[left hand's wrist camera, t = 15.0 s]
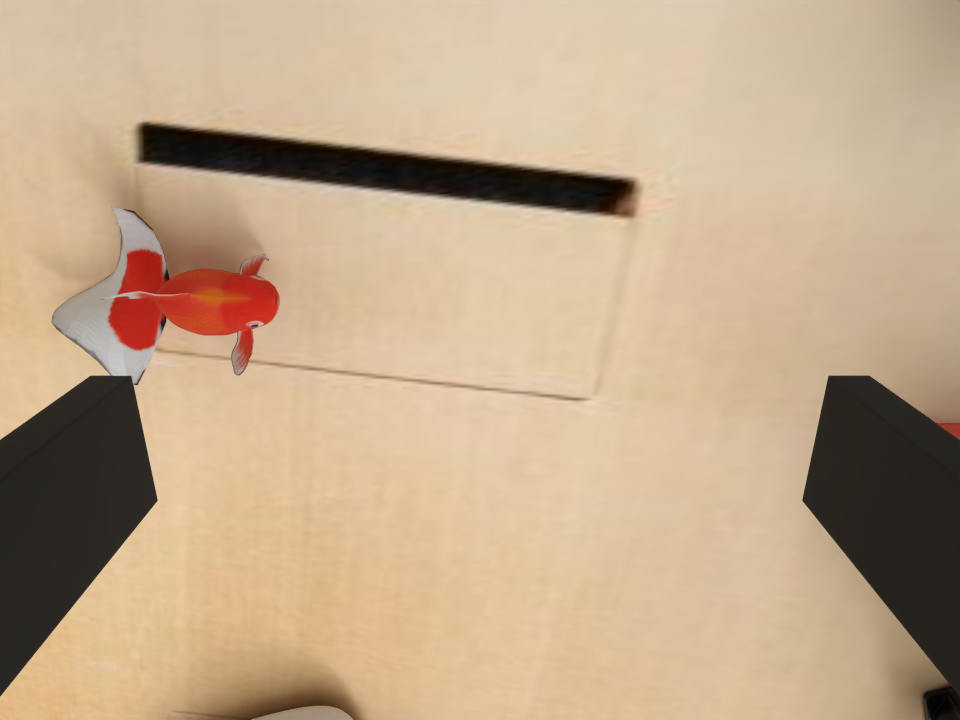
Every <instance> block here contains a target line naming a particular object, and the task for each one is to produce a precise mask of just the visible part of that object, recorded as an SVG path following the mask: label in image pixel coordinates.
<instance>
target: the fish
mask: <svg viewBox="0 0 960 720" xmlns="http://www.w3.org/2000/svg"><path fill="white" fill-rule="evenodd" d="M111 208H112V209H113V211H114V213H115V215H116V217H117V220H118V223H119V225H120V231H121V253H120V258H119V261H118V264H117V268H116V270H115V272H114V273H113V274H111V275H110V276H108V277H107V278H105V279H104V280H102V281H101V282H100V283H98V284H97V285H95V286H94V287H91V288H89V289H87V290H85V291H83V292H81V293H79V294H77V295H75V296H73V297H71V298H70V299H68V300H67V301H66V302H65V303H63V304H62V305H61V306H60V307H58V308H57V309H56V310H55V312H54V314H53V316H52V323H53V325H54V326H55V328H56V329H57V330H58V331H60V332H61V333H62V334H63V335H65V336H66V337H67V338H69V339H70V340H72V341H73V342H74V343H76V344H77V345H79V346H80V347H81V348H82V349H84V350H85V351H86V352H87V353H88V354H90V355H91V356H92V357H93V358H94V359H96V360H97V361H98V362H99V363H100V364H101V365H102V366H103V367H104V368H105V370H106V371H107V372H108V373H109V374H110V375H111V376H132V381H133V385H138V383H139V381H140V379H141V377H142V375H143V373H144V371H145V369H146V367H147V365H148V363H149V361H150V359H151V357H152V355H153V353H154V350H155V348H156V346H157V343H158V341H159V338H160V336H161V333H162V331H163V328H164V326H165V323H166V317H167V318H168V319H169V320H170V321H171V322H172V323H173V324H175V325H176V326H178V327H180V328H182V329H185V330H187V331H190V332H193V333H196V334H200V335H229V334H233V333H235V332H238V338H237V343H236V345H235V347H234V349H233V351H232V355H231V358H232V364H233V369H234V373H235V374H236V375H240V374H241V373H243V372H244V370H245V368H246V367H247V364H248V361H249V358H250V356H251V355H252V350H253V332H252V329H254V328H257V327H259V326H263V325H266V324H268V323H269V322H271V321H272V320H273V318H274V317H275V315H276V314H277V313H278V309H279V305H280V298H279V294H278V292H277V290H276V288H275V286H273V285H272V284H271V283H270V282H268V281H267V280H265V279H264V278H262V277H260V276H257V273H258V271H259V269H260V266H261V264H262V262H263V260H264V259H267V260H269V259H268V258H267V256H266V255H265V254H263V255H259V256H255V257H253V258H250V259H248V260H246V261H245V262H243V263H242V264H241V266H240V273H239V274H236V273H235V274H232V273H229V272H226V271H220V270H212V269H197V270H192V271H188V272H185V273H182V274H179V275H177V276H174V277H173V278H171V279H170V280H169V274H168V270H167V266H166V262H165V258H164V254H163V252H162V249H161V246H160V244H159V242H158V240H157V238H156V236H155V234H154V231H153V229H152V228H151V227H150V226H149V225H148V224H146V223H145V222H144V221H143V220H142V219H141V218H140V217H139V216H138V215H137V214H136V213H135V212H134V211H130V210H125V209H120V208H115V207H111Z"/></svg>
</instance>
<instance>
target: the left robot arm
mask: <svg viewBox="0 0 960 720" xmlns="http://www.w3.org/2000/svg"><path fill="white" fill-rule="evenodd" d="M157 501H158V500H157V495H156V490H155V486H154V481H153V476H152V471H151V467H150V462H149V457H148V452H147V448H146V443H145V438H144V433H143V429H142V424H141V419H140V414H139V409H138V405H137V400H136V395H135V390H134V386H133V381H132V376H90V377H88V378H87V379H85V380H84V381H83V382H81V383H80V384H78V385H77V386H76V387H74V388H73V389H71V390H70V391H69V392H67V393H66V394H64V395H63V396H61V397H60V398H59V399H57V400H56V401H54V402H53V403H52V404H50V405H49V406H47V407H46V408H45V409H43V410H42V411H40V412H39V413H38V414H36V415H35V416H33V417H32V418H31V419H29V420H28V421H26V422H25V423H23V424H22V425H21V426H19V427H18V428H16V429H15V430H14V431H12V432H11V433H9V434H8V435H7V436H5V437H4V438H2V439H1V440H0V696H1V695H2V694H3V692H4V691H5V690H6V689H7V687H8V686H9V685H10V684H11V682H12V681H13V680H14V679H15V677H16V676H17V675H18V674H19V672H20V671H21V670H22V669H23V667H24V666H25V665H26V664H27V662H28V661H29V660H30V659H31V658H32V656H33V655H34V654H35V653H36V651H37V650H38V649H39V648H40V646H41V645H42V644H43V643H44V641H45V640H46V639H47V638H48V636H49V635H50V634H51V633H52V631H53V630H54V629H55V628H56V626H57V625H58V624H59V623H60V621H61V620H62V619H63V618H64V616H65V615H66V614H67V613H68V611H69V610H70V609H71V608H72V606H73V605H74V604H75V603H76V602H77V600H78V599H79V598H80V597H81V595H82V594H83V593H84V592H85V590H86V589H87V588H88V587H89V585H90V584H91V583H92V582H93V580H94V579H95V578H96V577H97V575H98V574H99V573H100V572H101V570H102V569H103V568H104V567H105V565H106V564H107V563H108V562H109V560H110V559H111V558H112V557H113V555H114V554H115V553H116V552H117V550H118V549H119V548H120V547H121V546H122V544H123V543H124V542H125V541H126V539H127V538H128V537H129V536H130V534H131V533H132V532H133V531H134V529H135V528H136V527H137V526H138V524H139V523H140V522H141V521H142V519H143V518H144V517H145V516H146V514H147V513H148V512H149V511H150V509H151V508H152V507H153V506H154V504H155V503H156V502H157ZM802 501H803V502H804V503H805V504H806V506H807V507H808V508H809V509H810V511H811V512H812V513H813V514H814V516H815V517H816V518H817V519H818V521H819V522H820V523H821V524H822V526H823V527H824V528H825V529H826V531H827V532H828V533H829V534H830V536H831V537H832V538H833V539H834V541H835V542H836V543H837V544H838V546H839V547H840V548H841V549H842V550H843V552H844V553H845V554H846V555H847V557H848V558H849V559H850V560H851V562H852V563H853V564H854V565H855V567H856V568H857V569H858V570H859V572H860V573H861V574H862V575H863V577H864V578H865V579H866V580H867V582H868V583H869V584H870V585H871V587H872V588H873V589H874V590H875V592H876V593H877V594H878V595H879V597H880V598H881V599H882V600H883V602H884V603H885V604H886V605H887V606H888V608H889V609H890V610H891V611H892V613H893V614H894V615H895V616H896V618H897V619H898V620H899V621H900V623H901V624H902V625H903V626H904V628H905V629H906V630H907V631H908V633H909V634H910V635H911V636H912V638H913V639H914V640H915V641H916V643H917V644H918V645H919V646H920V648H921V649H922V650H923V651H924V653H925V654H926V655H927V656H928V658H929V659H930V660H931V661H932V662H933V664H934V665H935V666H936V667H937V669H938V670H939V671H940V672H941V674H942V675H943V676H944V677H945V679H946V680H947V681H948V682H949V684H950V685H951V686H952V687H953V689H954V690H955V691H956V692H957V694H958V695H959V696H960V440H959V439H958V438H956V437H955V436H953V435H952V434H951V433H949V432H948V431H946V430H945V429H944V428H942V427H941V426H939V425H938V424H937V423H935V422H934V421H932V420H931V419H929V418H928V417H927V416H925V415H924V414H922V413H921V412H920V411H918V410H917V409H915V408H914V407H913V406H911V405H910V404H908V403H907V402H906V401H904V400H903V399H901V398H900V397H899V396H897V395H896V394H894V393H893V392H891V391H890V390H889V389H887V388H886V387H884V386H883V385H882V384H880V383H879V382H877V381H876V380H875V379H873V378H872V377H870V376H828V381H827V386H826V390H825V395H824V400H823V405H822V409H821V414H820V419H819V424H818V429H817V433H816V438H815V443H814V448H813V452H812V457H811V462H810V467H809V471H808V476H807V481H806V486H805V490H804V495H803V500H802Z"/></svg>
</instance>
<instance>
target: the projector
mask: <svg viewBox="0 0 960 720" xmlns="http://www.w3.org/2000/svg"><path fill="white" fill-rule="evenodd" d="M252 720H353V719H352V718H351V717H350V716H349V715H348V714H347V713H345V712H344V711H342V710H340V709H338V708H335V707H330V706H309V707H301V708H296V709H290V710H286V711H282V712H277V713H273V714H269V715H266V716H262V717H258V718H255V719H252Z"/></svg>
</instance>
